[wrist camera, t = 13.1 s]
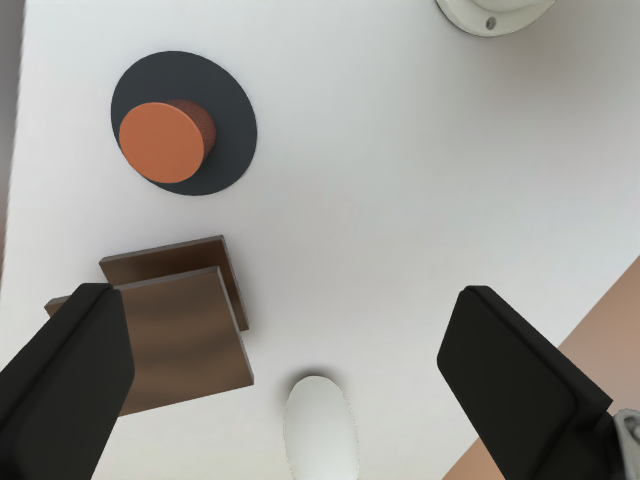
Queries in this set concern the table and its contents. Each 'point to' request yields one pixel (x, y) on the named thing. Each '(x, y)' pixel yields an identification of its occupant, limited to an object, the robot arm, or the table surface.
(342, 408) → the sauce bottle
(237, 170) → the coaster
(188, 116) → the canister
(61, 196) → the table surface
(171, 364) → the stand
